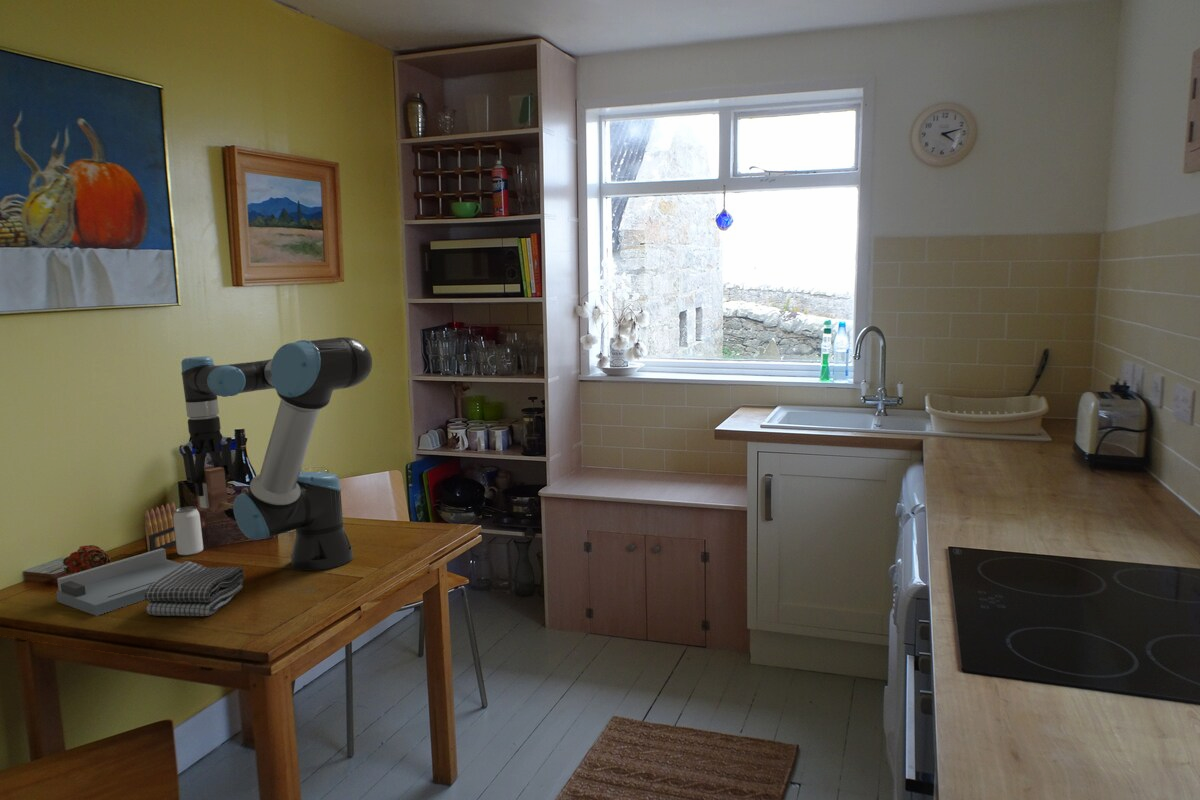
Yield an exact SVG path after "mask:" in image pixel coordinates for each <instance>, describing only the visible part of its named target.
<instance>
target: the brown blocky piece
mask: <svg viewBox="0 0 1200 800" xmlns="http://www.w3.org/2000/svg"><path fill="white" fill-rule="evenodd" d="M203 483H206V484H207V493H208V502H209V508H201V507H200V498H199V496H197V495H196V497H197V507H198V511H202V512H206V513H212V514H216V513H220V512H224V511H227V510H229V509H231V510H233V503H231V502H230V503H229V502H228V500H229V499H228V494H227V493H228V492H227V489H226V486H227V480H226V481H225V472H224V468H220V467H214V465H213V466H211V465H206V466H205V467H204V480H203Z"/></svg>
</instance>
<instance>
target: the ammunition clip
mask: <svg viewBox="0 0 1200 800" xmlns="http://www.w3.org/2000/svg"><path fill="white" fill-rule="evenodd" d="M176 509H177V508H176V504H175V502H174V501H172V502H171V504H169V503H166V505H165V507H164V505H163V504H162V505H160V508H159V507H158V506H156V508H155V511H154V509H153V507H151V509H150V511H149V510H148V509H145V513H144V522H145V523H144V528H145V529H144V530H145V535H144V541H145V553H147V552H150V551H154V550H157V549H161V548H163V549H165V550H166V549H168V548H170V547H172V546H176V539H175V530H174V521H173V516H174V513H175V512H174V510H176Z"/></svg>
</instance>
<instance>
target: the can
mask: <svg viewBox="0 0 1200 800" xmlns="http://www.w3.org/2000/svg"><path fill="white" fill-rule="evenodd" d="M197 507H198V506H183V507H178V508H176V510H174V512H175V513H174V516H173V521H174V530H175V539H176V545H175V547H176V553H177V554H178V555H179V556H182V557H183V556H184V557H185V556H193V555H197V554H199V553H202V551H203V550H204V541H203V532H202V525H201V524H202V523H201V515H200V512H199V509H198V508H197Z"/></svg>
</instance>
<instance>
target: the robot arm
mask: <svg viewBox="0 0 1200 800" xmlns="http://www.w3.org/2000/svg"><path fill="white" fill-rule="evenodd" d="M372 357H373V356H372V353H371V351H370V350H369V348H368V347H367V346H366V345H365V344H364V343H363V342H361V340H358V339H356V338H352V337H344V336H341V337H340V336H339V337H332V338H324V339H315V340H297V341H295V342H289V343H286V344H283V345H282V346H280V347H279V348H278V349H277V350H276V352H275V353H274V355H273V356H272V358H270V359H267V360H265V359H264V360H258V361H256V360H255V361H250V362H239V363H231V364H222V365H221V364H220V365H215V363H214V360H213V358H212V357H211V356H208V355H207V356H193V357H192V356H191V357H185V358H184V359H182V360H181V373H180V374H181V377H182V378H181V379H182V387H183V393H184V399H185V407H186V408H185V410H186V416H187V418H188V419H187V429H188V434H189V439H188V442H187V443H186V444H184V445H182V444H181V445H179V450H180V451H181V454H182V460H183V464H184V471H185V477H186V482H187V483H191V484H192V483H193V484H194V487H195V495H196V497H197V496H199V498H200V507H201V508H209V502H208V493H207V484H206V483H203V480H204V467H206V466H205V465H206V464H205V463H206V458H207V454H209V456H210V459H211V461H212V465H213V467H220V468H224V472H225V481H226V482H227V479H228V478H229V476H230V475H232V474H233V461H232V459H233V458H232V449H231V447H232V442H233V438H232V437H231V436H229V437H228V436H223V435H222V433H221V421H220V417H219V416H218V415H219V413H220V411H219V403H218V397H222V398H223V397H225V398H227V397H234V396H237V395H239V394H243V393H244V394H245V393H249V392H250V393H251V392H254V391H255V392H257V391H265V390H273V389H274V390H275V391H276V394H277V397H278V398H280V400H279V401H280V403H279V406H278V408H277V409H278V410H277V412H276V415H275V420H274V424H273V428H272V431H271V434H270V438H269V441H268V445H267V448H266V452H265V455H264V458H263V461H262V465H261V469H260V471H259V474H257V475H255V476H254V477H253V478H251V480H250V482H249V487H248V490H247V492H245V493H244V492H242V493H240V494H238V495H236V497H235V498H234V499H233V503H232V504H233V509H232V511H233V515H234V519H235V521H236V524H237V526H238V528H239V530H240V531H241V533H242V534H243V535H244V536H245V537H246V538H248V539H249V540H252V541H258V540H262V539H269V538H272V537H275V536H278V535H281V534H285V533H288V532H291V531H294V530H295V539H294V544H293V549H292V553H291V556H290V557H291V558H290V559H291V566H292V567H293V568H294V569H296V570H299V571H300V570H301V571H317V570H318V571H319V570H320V571H321V570H329V569H332V568H337V567H339V566H342V565H345V564H347V563H349V562H350V561H351V560H353V558H354V553H353V547H352V545H351V542H350V540H349V537H348V536H347V535H348V534H347V533H346V531H345V528H344V517H343V507H342V506H343V505H342V494H341V493H342V488H341V484H340V479H339V476H338V475H336V474H334V473H331V472H322V471H305V472H301V471H302V467H303V465H304V462H305V458H306V456H307V455H306V454H307V452H308V449H309V448H308V447H309V445H310V441H311V438H312V435H313V432H314V428H315V425H316V423H317V419H318V416H319V412H320V410H322V409H324V408H326V407H327V406H328V405H329V403H330V400H331V397H332V394H333V392H334V391H335V390H343V389H349V388H353V387H355V386H357V385H360V384H361V383H362V382H364V381H365V380H366V379H367V378H368V377H369V376H370V373H371V372H372V368H373V358H372ZM220 444H221V445H220ZM219 446H220V447H219ZM193 449H194V455H193ZM194 457H195V459H194ZM227 489H228V487H227V485H226V490H227Z"/></svg>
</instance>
